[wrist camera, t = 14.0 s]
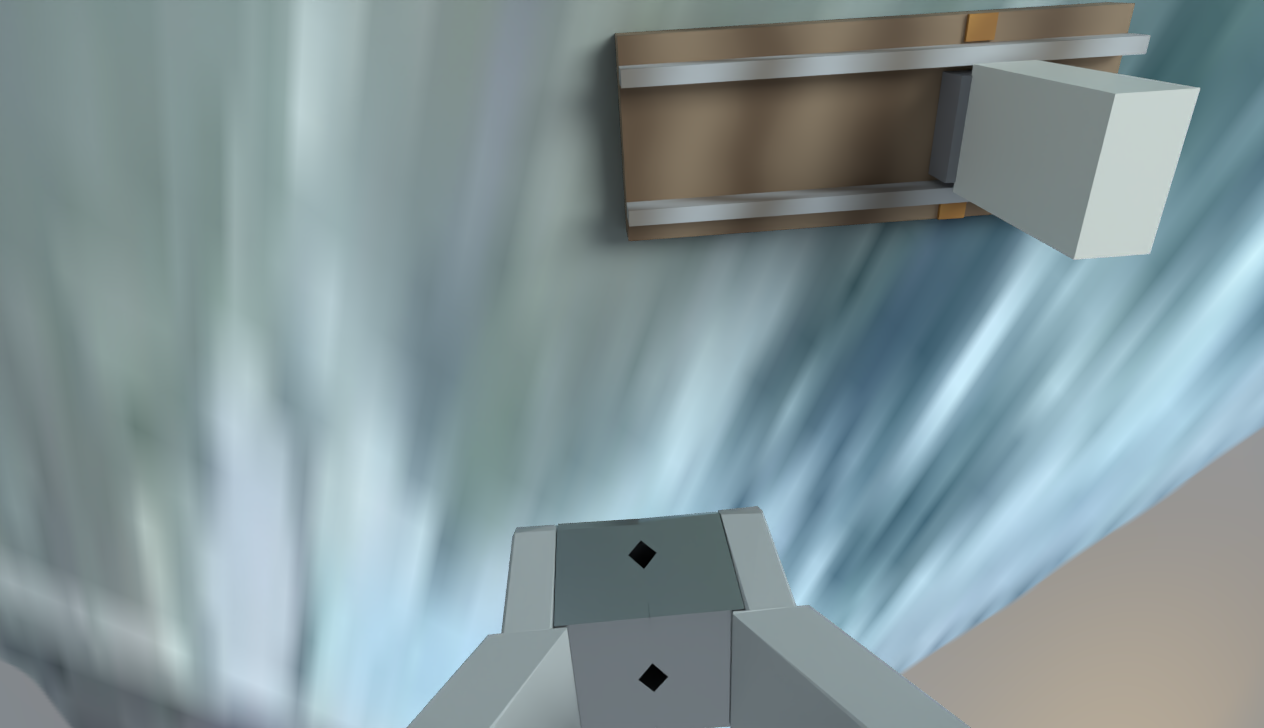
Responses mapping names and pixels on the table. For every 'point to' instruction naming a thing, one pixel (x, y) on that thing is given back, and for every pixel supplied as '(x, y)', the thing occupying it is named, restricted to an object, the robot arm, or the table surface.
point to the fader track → (819, 113)
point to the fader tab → (1063, 151)
